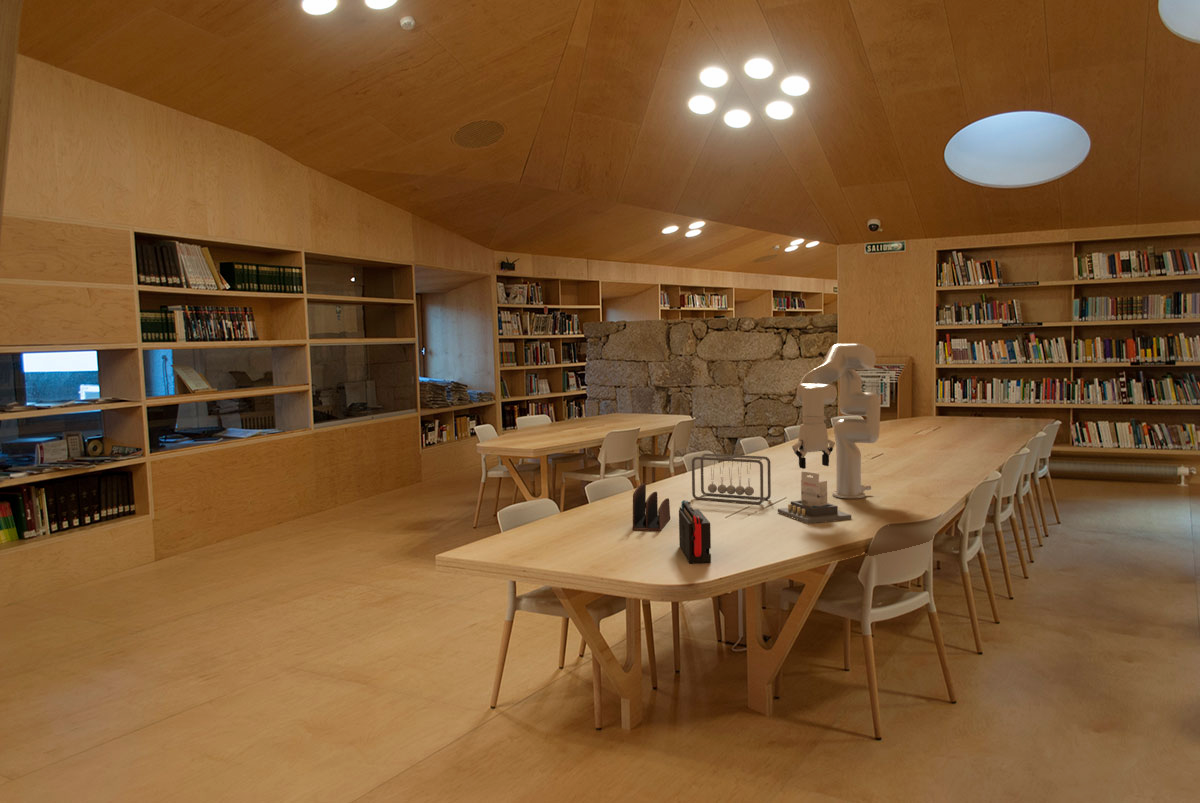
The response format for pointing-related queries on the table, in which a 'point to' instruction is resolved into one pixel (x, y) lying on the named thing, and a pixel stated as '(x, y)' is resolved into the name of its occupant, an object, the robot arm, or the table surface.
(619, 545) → the table surface
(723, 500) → the newton's cradle
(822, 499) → the ink box
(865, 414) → the robot arm
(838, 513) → the dock board
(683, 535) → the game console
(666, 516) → the letter holder
